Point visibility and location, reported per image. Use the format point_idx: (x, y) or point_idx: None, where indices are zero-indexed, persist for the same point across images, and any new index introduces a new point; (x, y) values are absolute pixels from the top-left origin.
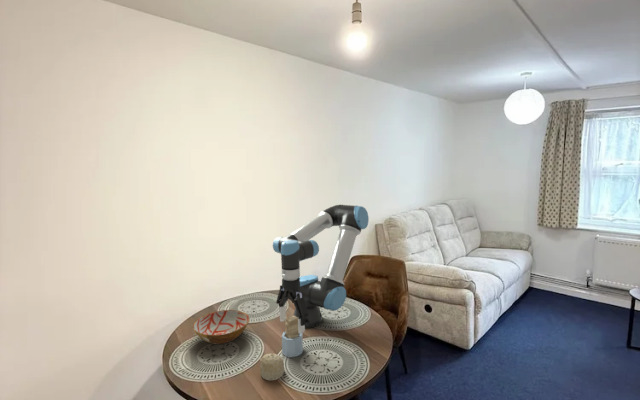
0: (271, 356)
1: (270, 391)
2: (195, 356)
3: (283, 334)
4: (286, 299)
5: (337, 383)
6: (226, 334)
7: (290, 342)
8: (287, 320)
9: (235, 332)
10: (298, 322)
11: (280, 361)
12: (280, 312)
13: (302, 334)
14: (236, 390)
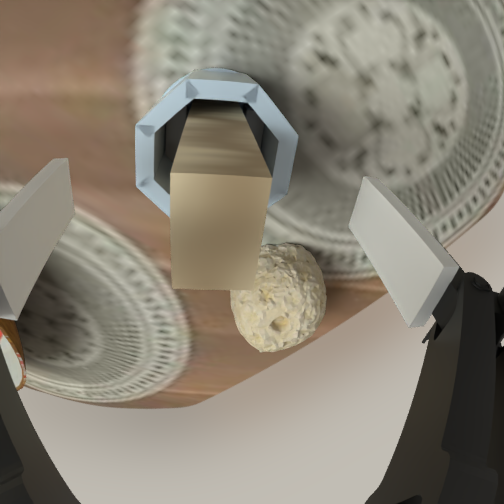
0: (293, 338)
1: (335, 318)
2: (41, 363)
3: (165, 204)
4: (14, 418)
5: (483, 174)
6: (23, 362)
7: None
8: (215, 285)
9: (11, 334)
10: (391, 288)
11: (320, 300)
12: (34, 272)
13: (261, 88)
14: (255, 364)
